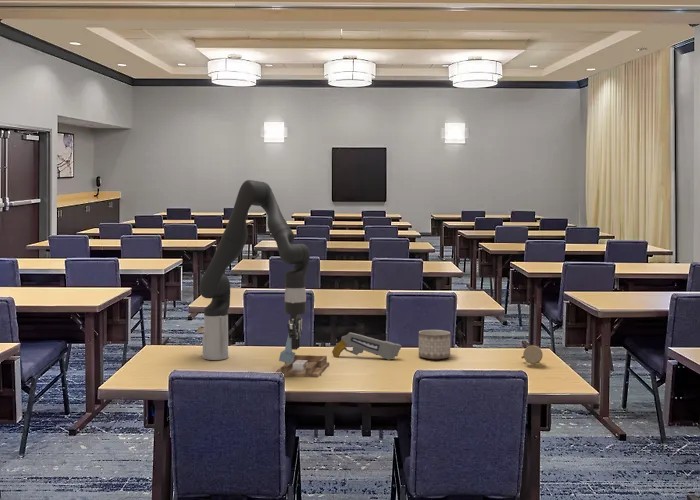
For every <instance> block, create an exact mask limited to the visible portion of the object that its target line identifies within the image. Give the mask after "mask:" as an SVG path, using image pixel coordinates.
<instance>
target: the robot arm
mask: <svg viewBox="0 0 700 500" xmlns="http://www.w3.org/2000/svg"><path fill="white" fill-rule="evenodd" d="M252 206H257V207H261V208H262V209H263V211H264V212H265V214H266V215H267V229H268V231H269V233H270V234H271V237H272V238H273V240H274V241H275V243H276V247H277V250H278V255H279V257H280V259H281V261H282V262H283V263H284V264H286V265H294V266H293V268H292V269H291V270H288V271H287V272H285V279H284V281H285V283H284V284H285V289H284V313H285V314H286V315H290V316H289V319H288V323H287V331H288V333H289V338H291V347H292V349H293V350H294V351H295V350H298V349H300V347H301V340H300V339H301V336H302V334H303V326H304V319H303V318H302V315H304V314H306V313H307V292H306V291H307V290H306V274H307V271H308V267H309V262H310V258H311V254H310V249H309V247H308V246H307V245H306V244H304V243H294V241H295V234H294V232H293V230H292V229H291V226H289V224H288V223H287V221H286V219H285V217H284V216H283V214H282V212H281V210H280V206H279V204H278V201H277V199H276V198H275V195H274V193H273V190H272V188H271V187H270V185H269V184H268V183H267V182H264V181H259V180H253V179H247V180H244V182H243V183H242V184H241V186H240V188H239V191H238V193H237V196H236V199H235V203H234V205H233V209H232V211H231V214H230V217H229V220H228V221H227V223H226V224H227V225H226V227H225V229H224V231H223V233H222V235H221V238H220V241H219V244H218V245H217V248H216V250H215V252H214V254H213V255H212V256H213V257H212V259H211V261H210V263H209V265H208V266H207V268H206V270H205V272H204V274H203V276H202V278H201V280H200V282H199V288H198V289H199V293H200V295H201V296H202V297H203V298H204V299H211V301H210V303H209V304H208V305H207V306H206V307H205V308H204V310H203V317H204V318H203V322H204V325H203V326H204V327H203V328H204V333H203V334H202V359H205V360H210V361H219V360H226V359H228V358H229V308H230V306H231V283H230V279H229V277H228V276H227V275H226V274H225V271H226V270H227V268H229V267H230V266H231V264H233V262H235V261H236V260H237V259H238V257H239V256H240V255H241V254H242V252H243V250H244V249H245V248H244V247H245V245H246V243H247V241H248V235H249V233H248V232H249V231H248V227H247V216H248V213H249V211H250V208H251V207H252ZM296 329H297V330H296ZM293 333H294V335H293ZM293 350H292V351H293Z"/></svg>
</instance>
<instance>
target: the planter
mask: <svg viewBox="0 0 700 500" xmlns="http://www.w3.org/2000/svg"><path fill="white" fill-rule="evenodd" d="M418 356H419V357H420V358H424V359H428V360H433V361H435V360H436V361H437V360H438V361H439V360H443V359H447V358H449V357H451V332H450V331H448V330H442V329H423V330H419V331H418Z"/></svg>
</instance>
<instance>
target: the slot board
mask: <svg viewBox="0 0 700 500" xmlns="http://www.w3.org/2000/svg"><path fill="white" fill-rule="evenodd" d="M327 357H328V356H327V355H316V354H315V355H314V354H313V355H311V354H295V357H294V361H293V362H292V363H290V364H289V363H285V362H284V364H283V365H282V366H280V367H279V368H278V369H277V370H276V371H275V372H282V373H283V374H284V375H285V376H284V377H286V376H287V377H303V378H305V377H307V378H309V377H310V378H311V377H312V378H319V376H321V374H322V373H324V371H325V370H326V369H327V368H328V367H329V366H330V362H327V361H328V359H327ZM297 360H308V366H307V367H306V370H305V371H304V372H297V371H293V363H294V362H295V361H297Z"/></svg>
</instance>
